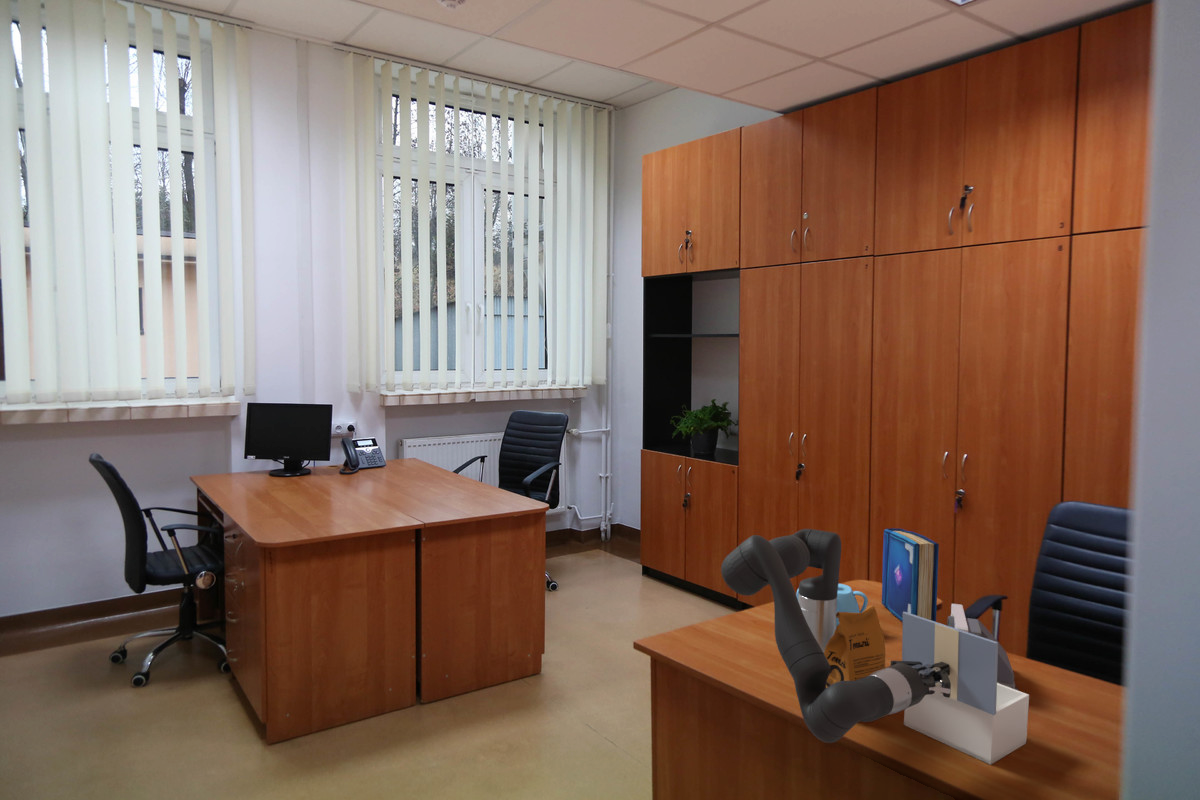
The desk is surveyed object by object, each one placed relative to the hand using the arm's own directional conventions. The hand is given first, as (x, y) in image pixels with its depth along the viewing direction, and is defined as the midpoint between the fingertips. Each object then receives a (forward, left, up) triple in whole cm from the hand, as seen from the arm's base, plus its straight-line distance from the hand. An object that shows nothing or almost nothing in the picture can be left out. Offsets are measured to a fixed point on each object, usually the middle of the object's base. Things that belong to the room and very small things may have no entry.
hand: (945, 667), depth 147 cm
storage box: (+6, +6, -16) cm, 18 cm away
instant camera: (+15, +35, -16) cm, 41 cm away
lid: (+1, +1, +1) cm, 2 cm away
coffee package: (-15, +13, -16) cm, 26 cm away
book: (+10, +74, -16) cm, 76 cm away
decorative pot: (-13, +61, -16) cm, 64 cm away
